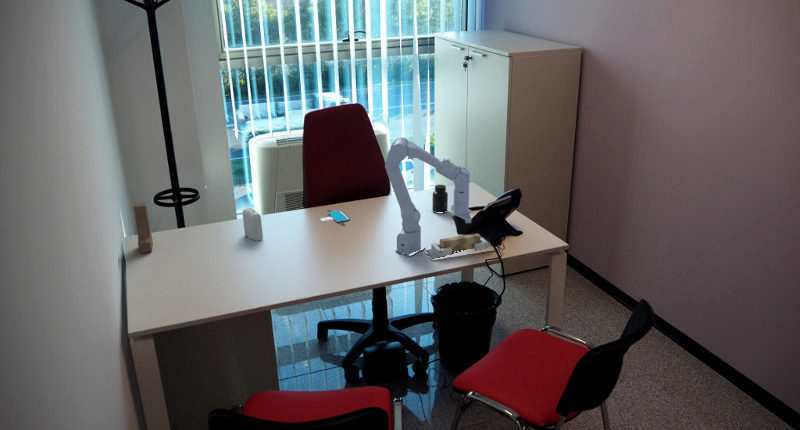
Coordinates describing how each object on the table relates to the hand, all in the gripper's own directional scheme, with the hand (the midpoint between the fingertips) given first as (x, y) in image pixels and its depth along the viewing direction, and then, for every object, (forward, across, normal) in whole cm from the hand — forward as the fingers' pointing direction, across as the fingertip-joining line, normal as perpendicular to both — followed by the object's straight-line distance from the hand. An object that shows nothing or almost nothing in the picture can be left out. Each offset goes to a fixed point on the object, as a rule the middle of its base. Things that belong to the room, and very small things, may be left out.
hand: (460, 233), depth 245 cm
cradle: (+8, 0, 0) cm, 8 cm away
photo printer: (+8, +42, +74) cm, 85 cm away
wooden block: (+8, +45, +115) cm, 124 cm away
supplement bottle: (+8, +42, -9) cm, 44 cm away
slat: (+7, 0, 0) cm, 7 cm away
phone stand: (+8, +51, +38) cm, 64 cm away
